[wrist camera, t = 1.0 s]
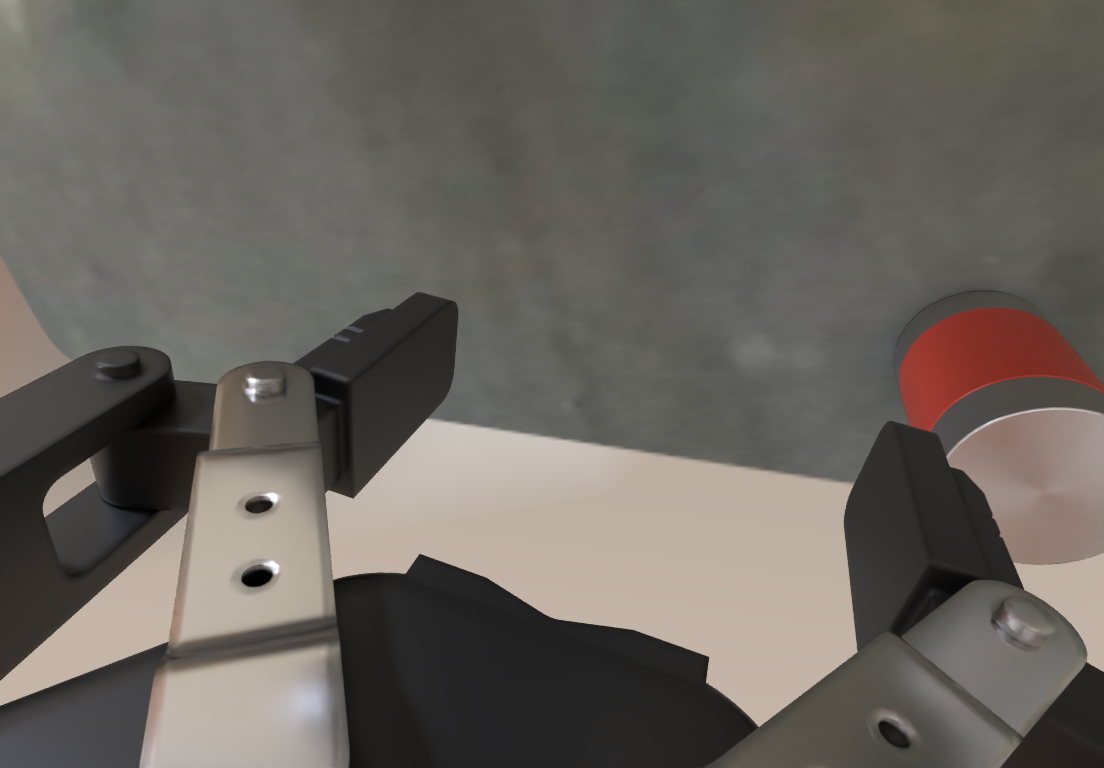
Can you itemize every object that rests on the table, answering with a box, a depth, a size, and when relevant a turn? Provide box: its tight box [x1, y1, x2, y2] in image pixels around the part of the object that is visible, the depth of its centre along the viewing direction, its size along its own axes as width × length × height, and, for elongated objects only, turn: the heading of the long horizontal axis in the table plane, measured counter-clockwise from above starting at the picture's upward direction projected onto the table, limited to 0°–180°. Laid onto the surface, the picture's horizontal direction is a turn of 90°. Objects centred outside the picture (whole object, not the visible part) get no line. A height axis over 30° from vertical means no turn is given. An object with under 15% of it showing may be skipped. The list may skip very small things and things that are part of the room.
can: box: [894, 291, 1104, 565], centre depth 25 cm, size 6×6×10 cm
